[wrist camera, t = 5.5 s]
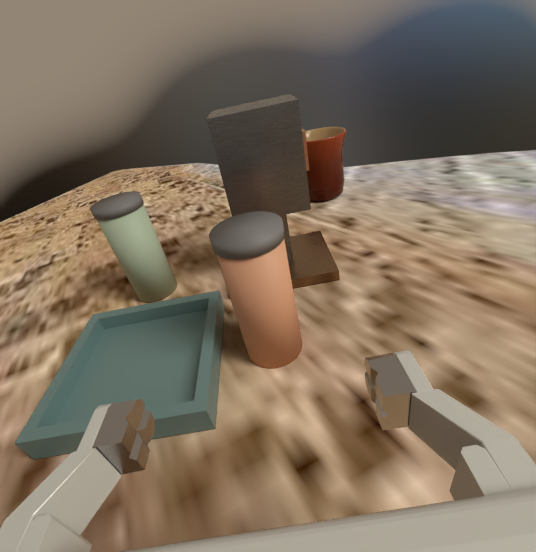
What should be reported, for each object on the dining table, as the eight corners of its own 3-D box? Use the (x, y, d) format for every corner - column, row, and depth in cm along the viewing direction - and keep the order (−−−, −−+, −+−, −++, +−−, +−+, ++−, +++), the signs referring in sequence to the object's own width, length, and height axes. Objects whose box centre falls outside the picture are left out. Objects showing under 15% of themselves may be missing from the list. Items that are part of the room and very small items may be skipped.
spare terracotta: (247, 374, 27) (205, 252, 20) (246, 330, 31) (212, 219, 24) (307, 363, 26) (286, 236, 20) (298, 321, 31) (278, 206, 24)
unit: (233, 299, 35) (179, 127, 25) (235, 255, 44) (195, 112, 34) (339, 279, 35) (327, 96, 25) (320, 238, 43) (305, 88, 33)
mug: (349, 202, 51) (347, 135, 46) (296, 208, 53) (287, 145, 48) (346, 177, 61) (344, 120, 55) (301, 183, 63) (294, 128, 57)
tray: (33, 459, 24) (14, 443, 22) (102, 329, 35) (92, 314, 34) (215, 428, 23) (206, 410, 22) (224, 307, 35) (219, 290, 33)
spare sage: (132, 306, 38) (81, 215, 31) (143, 282, 42) (101, 197, 36) (173, 298, 38) (131, 204, 31) (181, 274, 42) (145, 188, 35)
